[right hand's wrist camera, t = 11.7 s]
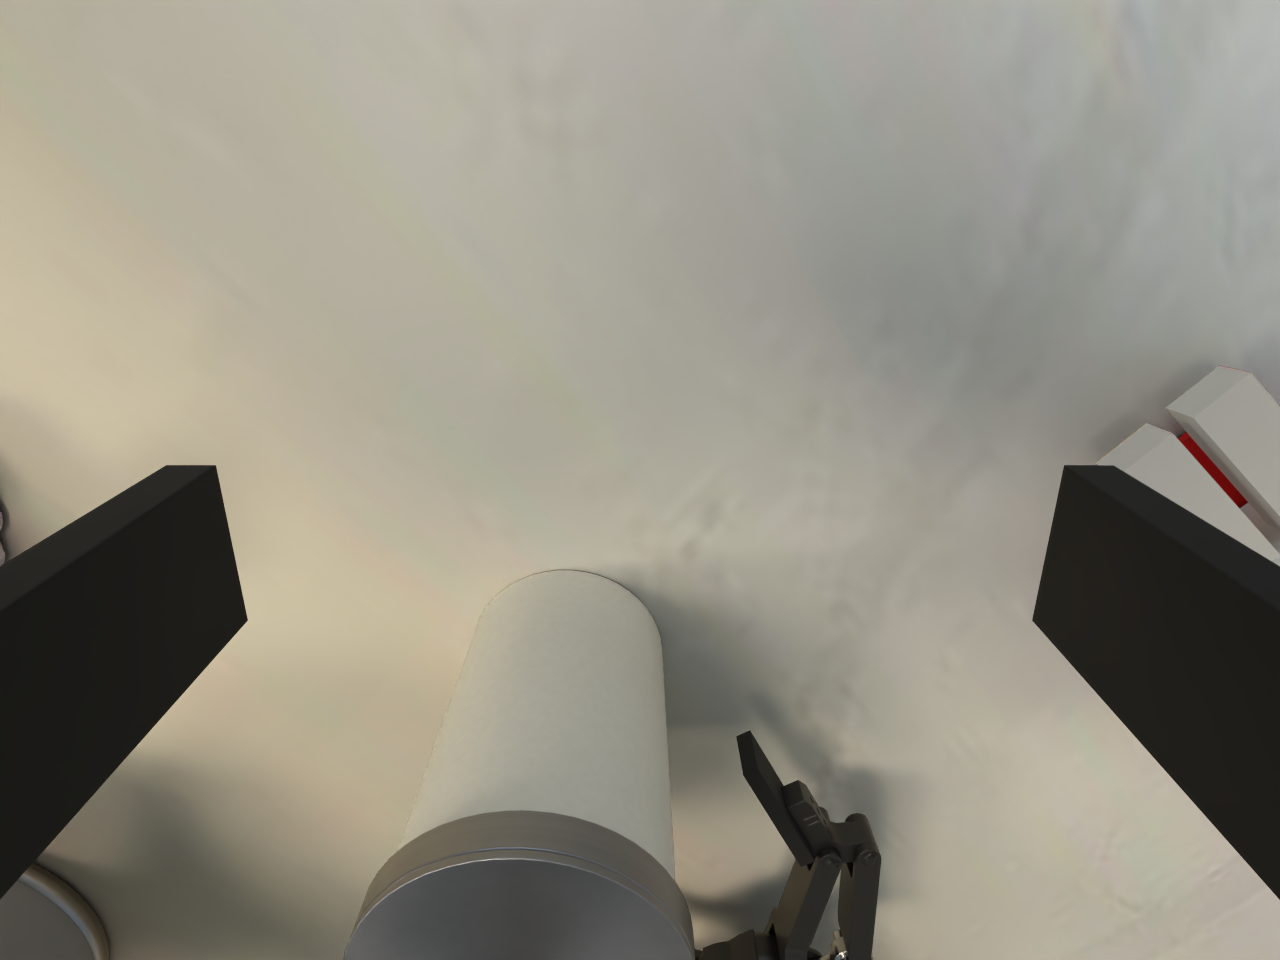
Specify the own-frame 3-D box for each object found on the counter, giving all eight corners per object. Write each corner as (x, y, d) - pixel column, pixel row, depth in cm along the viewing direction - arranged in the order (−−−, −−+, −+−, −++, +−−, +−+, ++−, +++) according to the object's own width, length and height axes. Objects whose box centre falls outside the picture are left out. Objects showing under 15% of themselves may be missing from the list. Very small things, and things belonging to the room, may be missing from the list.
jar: (462, 715, 44) (352, 1063, 27) (484, 554, 41) (373, 837, 23) (642, 743, 45) (647, 1097, 28) (680, 587, 41) (711, 884, 24)
